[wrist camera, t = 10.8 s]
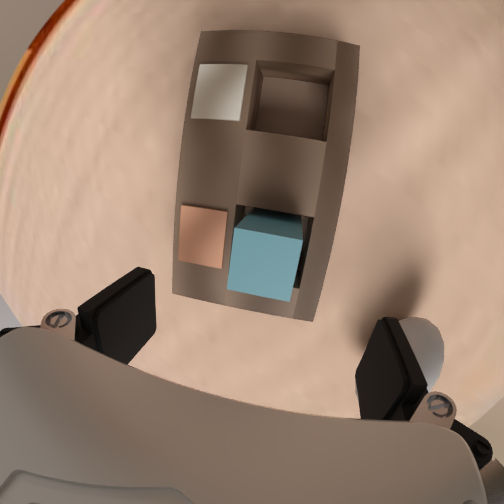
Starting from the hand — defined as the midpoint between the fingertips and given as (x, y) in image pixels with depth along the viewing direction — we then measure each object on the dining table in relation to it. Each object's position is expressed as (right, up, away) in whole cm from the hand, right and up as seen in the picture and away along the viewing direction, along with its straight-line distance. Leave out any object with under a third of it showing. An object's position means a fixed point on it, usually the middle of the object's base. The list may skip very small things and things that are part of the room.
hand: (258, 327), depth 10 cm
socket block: (+1, +10, +12) cm, 15 cm away
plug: (+2, +5, +13) cm, 14 cm away
